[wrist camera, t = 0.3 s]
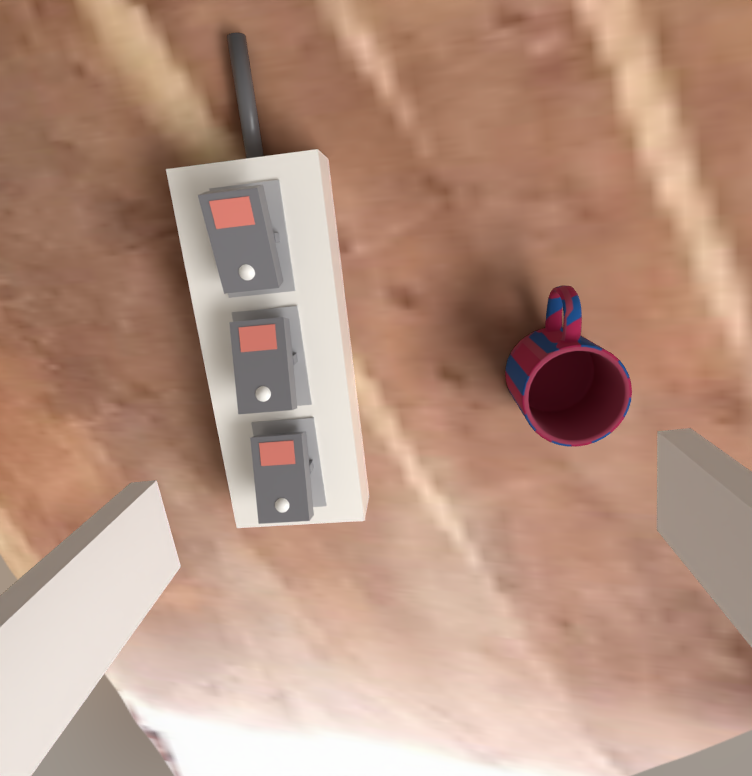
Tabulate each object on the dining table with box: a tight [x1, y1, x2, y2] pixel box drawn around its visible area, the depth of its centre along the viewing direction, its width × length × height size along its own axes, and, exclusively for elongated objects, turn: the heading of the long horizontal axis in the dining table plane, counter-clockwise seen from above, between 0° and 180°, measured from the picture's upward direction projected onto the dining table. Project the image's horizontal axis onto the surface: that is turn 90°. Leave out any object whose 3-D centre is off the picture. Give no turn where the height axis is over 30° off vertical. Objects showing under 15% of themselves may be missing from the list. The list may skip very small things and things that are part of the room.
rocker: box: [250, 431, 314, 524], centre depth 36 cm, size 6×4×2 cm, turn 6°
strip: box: [166, 33, 369, 528], centre depth 37 cm, size 34×10×5 cm, turn 6°
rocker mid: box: [229, 317, 297, 414], centre depth 34 cm, size 6×4×1 cm, turn 6°
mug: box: [505, 286, 632, 446], centre depth 36 cm, size 7×10×7 cm
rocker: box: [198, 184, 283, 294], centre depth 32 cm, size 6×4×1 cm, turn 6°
